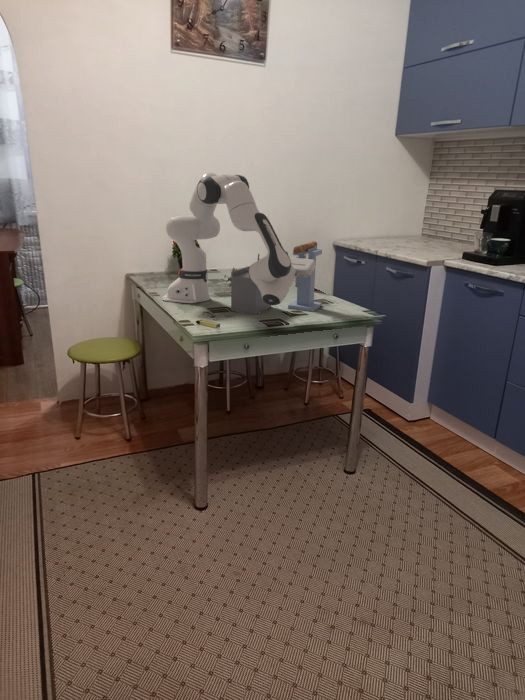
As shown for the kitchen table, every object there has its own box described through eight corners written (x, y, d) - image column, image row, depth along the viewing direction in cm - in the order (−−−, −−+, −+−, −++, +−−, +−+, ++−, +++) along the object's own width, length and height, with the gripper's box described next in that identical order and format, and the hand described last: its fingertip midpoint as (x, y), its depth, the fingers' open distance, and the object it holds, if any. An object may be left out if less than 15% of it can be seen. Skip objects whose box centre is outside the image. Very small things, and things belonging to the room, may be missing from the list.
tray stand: (255, 314, 217) (256, 274, 212) (231, 311, 222) (231, 271, 216) (270, 306, 231) (271, 268, 225) (247, 303, 236) (247, 266, 230)
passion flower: (243, 294, 278) (251, 279, 270) (225, 292, 273) (233, 277, 264) (238, 280, 284) (246, 264, 276) (220, 278, 279) (228, 262, 271)
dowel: (300, 253, 211) (300, 246, 210) (293, 253, 212) (293, 246, 211) (317, 247, 230) (317, 241, 229) (311, 247, 231) (311, 241, 230)
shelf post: (313, 311, 224) (316, 250, 215) (287, 308, 229) (290, 248, 220) (321, 305, 234) (325, 247, 226) (297, 302, 239) (299, 245, 230)
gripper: (308, 271, 197) (319, 249, 205) (261, 266, 205) (273, 245, 213) (310, 283, 202) (321, 261, 210) (264, 278, 210) (275, 257, 218)
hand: (296, 253), depth 212 cm, fingers open, 8 cm apart
